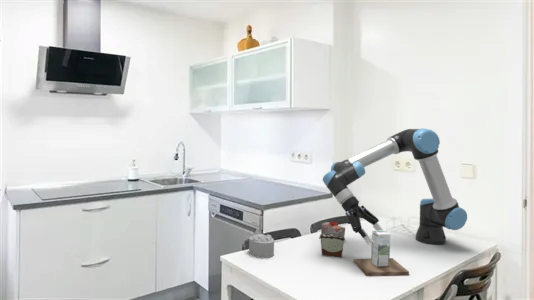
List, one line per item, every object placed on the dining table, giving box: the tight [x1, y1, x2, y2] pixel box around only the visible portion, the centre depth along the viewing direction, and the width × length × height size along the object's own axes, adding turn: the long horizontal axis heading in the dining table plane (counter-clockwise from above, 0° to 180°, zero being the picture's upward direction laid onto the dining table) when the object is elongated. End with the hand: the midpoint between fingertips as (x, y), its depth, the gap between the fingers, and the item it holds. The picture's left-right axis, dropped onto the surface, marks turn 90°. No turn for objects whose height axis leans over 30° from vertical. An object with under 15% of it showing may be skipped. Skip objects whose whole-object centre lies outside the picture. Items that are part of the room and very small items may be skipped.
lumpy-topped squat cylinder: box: [248, 233, 275, 259], centre depth 173 cm, size 10×13×9 cm
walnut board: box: [353, 257, 410, 277], centre depth 156 cm, size 18×16×2 cm
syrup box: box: [370, 229, 392, 267], centre depth 156 cm, size 6×6×14 cm
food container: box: [318, 233, 346, 259], centre depth 172 cm, size 12×6×10 cm, turn 71°
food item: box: [320, 221, 346, 236], centre depth 196 cm, size 14×8×10 cm, turn 35°
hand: (377, 239), depth 156 cm, fingers open, 13 cm apart
